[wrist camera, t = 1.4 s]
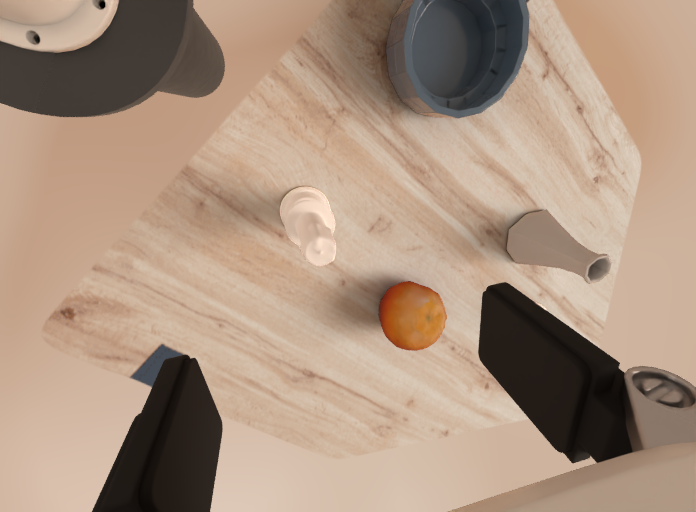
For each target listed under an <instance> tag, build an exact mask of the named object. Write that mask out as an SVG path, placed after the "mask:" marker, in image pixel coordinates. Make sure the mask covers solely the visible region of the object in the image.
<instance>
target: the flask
mask: <svg viewBox="0 0 696 512" xmlns="http://www.w3.org/2000/svg"><path fill="white" fill-rule="evenodd" d="M507 251H508V253H509V254H510V256H511V257H512V258H513V260H514V261H515V262H516V263H519V264H528V265H539V266H546V267H554V268H560V269H564V270H567V271H570V272H574V273H576V274H578V275H580V276H582V277H583V278H584V279H585V281H586V282H587V283H589V284H590V283H594V282H599V281H600V280H602V279H603V278H604V277H605V276H606V275H608V274H609V272H610V268H611V265H612V261H611V259H610V258H609V256H608V255H607V254H600V255H599V254H597V253H594V252H592V251H590V250H588V249H587V248H585V247H584V246H582V245H581V244H580V243H578V242H577V241H576V240H575V239H574V238H573V237H572V236H571V235H570V234H569V233H568V232H567V231H566V230H565V229H564V228H563V227H562V226H561V225H560V224H559V223H558V222H557V221H556V219H555V218H554V217H553V216H552V215H551V214H550V213H549V212H548V211H547V210H544V211H538V212H533V213H527V214H526V215H525V216H524V217H522V218H521V219H520V220H519V221H518V222H517V223H516V224H515V225H513V226H512V227H511V228H510V229H509V233H508V241H507Z"/></svg>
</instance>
